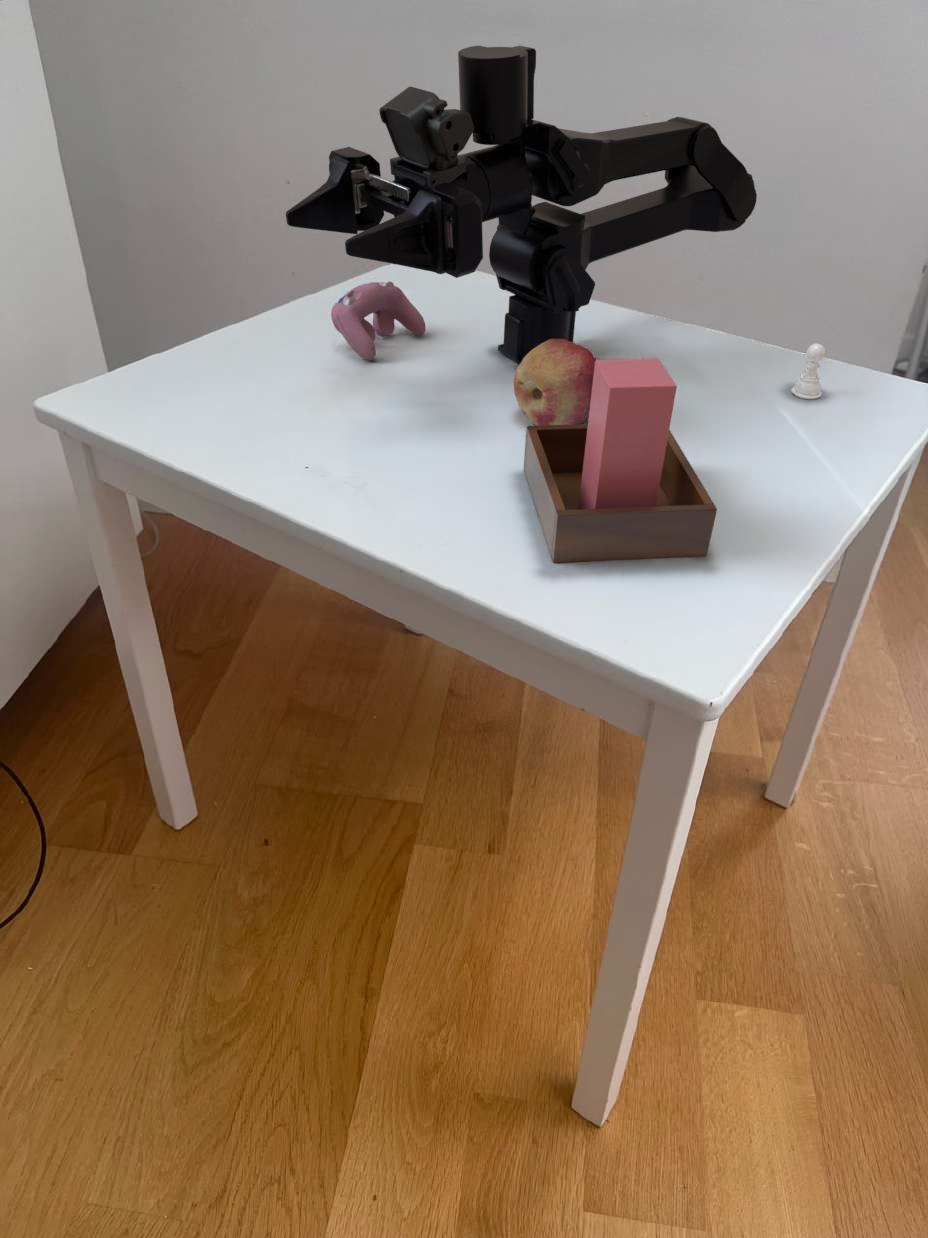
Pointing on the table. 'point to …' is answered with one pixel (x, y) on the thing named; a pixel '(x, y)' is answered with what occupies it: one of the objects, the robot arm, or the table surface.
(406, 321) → the video game controller
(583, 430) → the crate
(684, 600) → the table surface
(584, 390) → the fruit
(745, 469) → the table surface
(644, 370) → the rose block
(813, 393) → the chess pawn
